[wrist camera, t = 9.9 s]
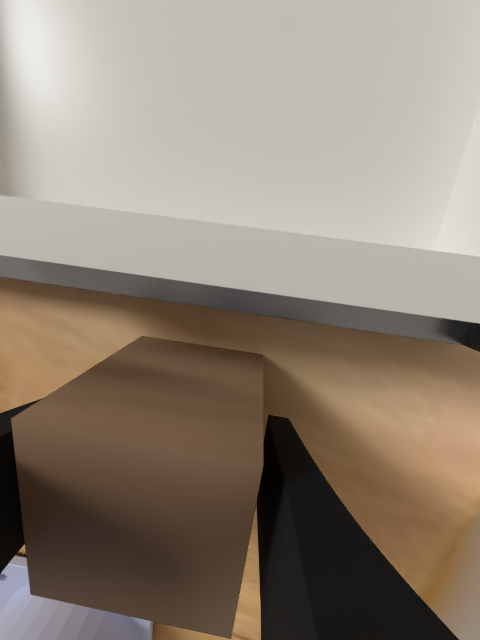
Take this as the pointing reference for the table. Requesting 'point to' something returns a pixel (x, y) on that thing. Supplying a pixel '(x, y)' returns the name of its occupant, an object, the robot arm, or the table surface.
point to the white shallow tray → (249, 145)
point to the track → (245, 301)
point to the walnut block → (145, 483)
